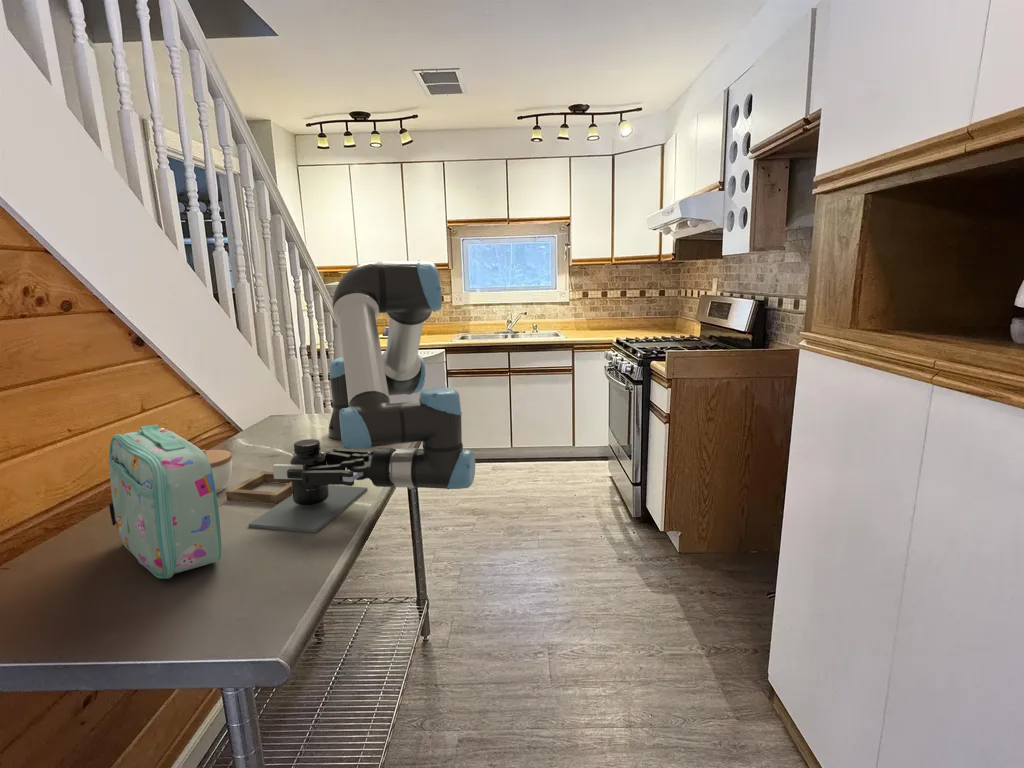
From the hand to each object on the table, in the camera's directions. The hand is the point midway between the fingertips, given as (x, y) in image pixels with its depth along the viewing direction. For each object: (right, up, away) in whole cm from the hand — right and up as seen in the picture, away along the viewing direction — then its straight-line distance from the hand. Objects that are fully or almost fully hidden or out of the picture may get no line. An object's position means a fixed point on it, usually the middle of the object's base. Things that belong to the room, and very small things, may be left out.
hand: (284, 464), depth 107 cm
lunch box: (-13, -13, -16) cm, 24 cm away
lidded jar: (-21, -8, +11) cm, 25 cm away
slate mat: (+5, -9, +1) cm, 10 cm away
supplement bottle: (+5, -7, +1) cm, 9 cm away
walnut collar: (-7, -7, +10) cm, 14 cm away
